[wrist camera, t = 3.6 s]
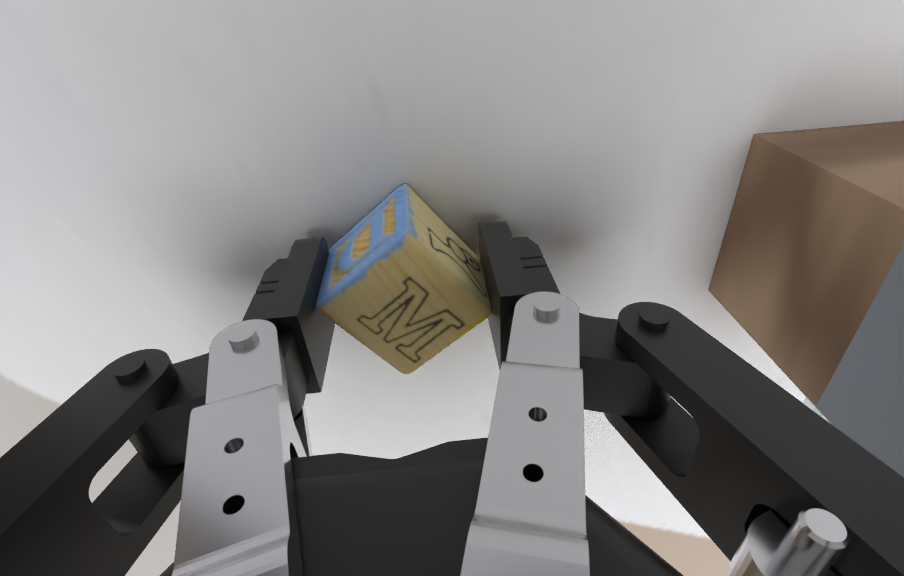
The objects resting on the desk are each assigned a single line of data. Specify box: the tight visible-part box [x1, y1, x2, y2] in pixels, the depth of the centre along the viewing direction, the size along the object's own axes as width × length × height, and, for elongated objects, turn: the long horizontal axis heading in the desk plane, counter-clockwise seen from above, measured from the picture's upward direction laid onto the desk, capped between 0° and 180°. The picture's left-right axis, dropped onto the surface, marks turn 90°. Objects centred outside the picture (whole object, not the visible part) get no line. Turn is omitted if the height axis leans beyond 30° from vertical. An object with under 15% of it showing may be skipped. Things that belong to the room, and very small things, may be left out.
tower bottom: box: [708, 121, 904, 407], centre depth 12 cm, size 5×5×5 cm
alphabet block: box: [315, 184, 491, 374], centre depth 13 cm, size 3×3×3 cm
